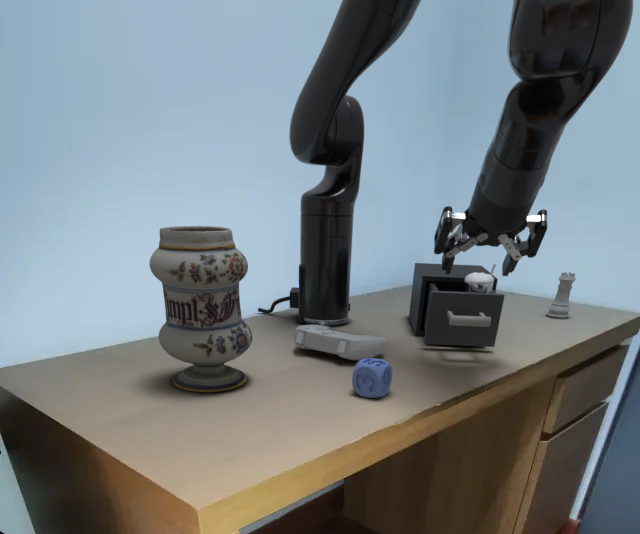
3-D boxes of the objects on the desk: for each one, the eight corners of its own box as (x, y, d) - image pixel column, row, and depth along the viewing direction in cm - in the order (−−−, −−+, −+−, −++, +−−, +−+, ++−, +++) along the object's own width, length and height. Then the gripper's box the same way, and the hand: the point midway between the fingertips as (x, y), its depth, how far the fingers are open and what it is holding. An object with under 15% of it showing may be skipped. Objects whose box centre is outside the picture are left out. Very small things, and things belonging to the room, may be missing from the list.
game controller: (394, 334, 88) (362, 331, 81) (389, 363, 90) (357, 363, 83) (319, 319, 95) (283, 315, 87) (315, 347, 97) (279, 345, 89)
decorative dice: (364, 386, 78) (366, 356, 75) (391, 391, 76) (394, 361, 74) (350, 394, 75) (352, 363, 72) (378, 400, 73) (381, 368, 71)
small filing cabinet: (486, 338, 101) (498, 278, 95) (415, 335, 101) (422, 275, 95) (472, 319, 112) (481, 265, 107) (408, 317, 113) (415, 262, 107)
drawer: (501, 356, 88) (513, 302, 84) (428, 353, 88) (435, 299, 84) (479, 327, 104) (488, 280, 99) (417, 324, 104) (422, 277, 99)
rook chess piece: (571, 319, 116) (583, 275, 111) (550, 318, 116) (561, 274, 111) (564, 314, 119) (575, 271, 115) (543, 313, 119) (553, 271, 115)
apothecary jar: (209, 362, 84) (197, 220, 74) (272, 379, 79) (269, 228, 68) (145, 382, 76) (121, 226, 66) (210, 402, 71) (196, 235, 60)
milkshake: (495, 333, 95) (505, 266, 89) (471, 338, 93) (481, 269, 87) (475, 327, 98) (484, 262, 92) (452, 332, 96) (460, 265, 90)
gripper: (569, 153, 69) (523, 249, 85) (451, 149, 69) (428, 245, 85) (570, 208, 68) (523, 294, 84) (451, 203, 68) (427, 290, 84)
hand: (475, 269), depth 85 cm, fingers open, 8 cm apart
